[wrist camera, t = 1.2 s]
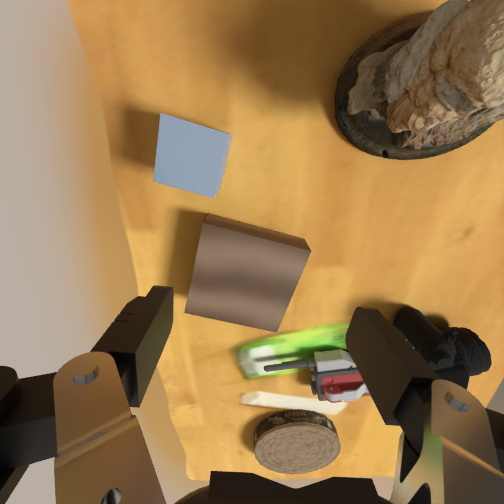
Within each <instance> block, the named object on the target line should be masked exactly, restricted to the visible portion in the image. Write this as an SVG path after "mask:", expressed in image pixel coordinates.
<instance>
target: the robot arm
mask: <svg viewBox="0 0 504 504" xmlns="http://www.w3.org/2000/svg"><path fill="white" fill-rule="evenodd" d="M172 324H173V288H172V287H165V286H155V285H154V286H153V287H152V288H151V290H150V291H149V293H148V294H147V296H146V297H142V296H138V297H136V298H135V299H133V300H132V301H130V302H129V303H127V304H126V306H125V307H124V308H123V310H122V311H121V312H120V314H119V315H118V316H117V317H116V319H115V321H114V322H113V323H112V324H111V325H110V327H109V328H108V329H107V330H106V332H105V333H104V334H103V336H102V337H101V338H100V339H99V341H98V342H97V343H96V345H95V346H94V347H93V349H92V350H91V351H90V352H89V353H85V354H82V355H79V356H77V357H75V358H73V359H71V360H70V361H68V362H67V363H66V364H64V365H63V366H62V367H61V368H60V369H59V370H58V372H54V373H50V374H45V375H39V376H34V377H27V378H22V379H18V376H17V373H16V371H15V370H14V369H13V368H11V367H7V366H0V504H5V503H6V501H7V500H8V498H9V497H10V495H11V493H12V492H13V490H14V489H15V487H16V485H17V484H18V482H19V481H20V479H21V478H22V476H23V474H24V473H25V471H26V470H27V468H28V466H29V465H30V464H32V463H35V462H39V461H42V460H45V459H49V458H52V457H55V460H54V476H55V495H56V504H166V501H165V498H164V496H163V492H162V490H161V487H160V484H159V481H158V478H157V475H156V472H155V469H154V466H153V463H152V460H151V457H150V454H149V451H148V449H147V445H146V442H145V439H144V436H143V433H142V430H141V427H140V425H139V422H138V420H137V417H136V416H135V415H132V413H131V410H130V407H140V404H141V402H142V400H143V397H144V395H145V392H146V390H147V387H148V385H149V383H150V380H151V378H152V375H153V373H154V370H155V368H156V366H157V363H158V361H159V358H160V356H161V354H162V351H163V349H164V346H165V344H166V341H167V339H168V337H169V334H170V332H171V328H172ZM346 347H347V349H348V351H349V353H350V355H351V357H352V359H353V361H354V363H355V365H356V367H357V369H358V371H359V373H360V375H361V377H362V379H363V381H364V383H365V385H366V387H367V389H368V391H369V393H370V395H371V397H372V399H373V401H374V403H375V405H376V407H377V409H378V411H379V412H380V414H381V416H382V418H383V420H384V422H385V424H386V425H396V426H401V428H402V430H403V432H402V434H401V435H400V438H399V446H398V454H397V462H396V470H395V478H394V486H393V491H392V495H391V498H390V500H389V501H388V500H386V499H384V498H382V497H380V496H378V494H377V491H376V489H375V486H374V483H373V480H372V479H369V478H349V477H332V478H329V479H326V480H323V481H320V482H317V483H313V484H310V485H308V486H305V487H301V488H297V489H294V488H290V487H288V486H285V485H283V484H280V483H277V482H275V481H272V480H269V479H267V478H264V477H261V476H259V475H256V474H254V473H244V472H223V471H211V475H210V484H209V486H206V487H202V488H199V489H197V490H195V491H193V492H191V493H189V494H187V495H186V496H185V497H183V498H181V499H180V500H178V501H177V502H176V503H175V504H504V414H501V413H498V412H495V411H493V410H490V409H487V408H484V406H483V405H482V404H481V403H480V401H479V400H478V399H477V398H476V397H475V396H473V395H472V394H471V393H470V392H468V391H467V390H466V389H464V388H462V387H461V386H459V385H457V384H455V383H453V382H450V381H447V380H442V379H441V378H440V377H439V376H438V375H437V374H436V372H435V371H434V370H433V369H432V368H431V367H430V365H429V364H428V363H427V362H426V361H425V359H424V358H423V357H422V356H421V355H420V354H419V352H418V351H417V350H415V348H414V346H413V345H412V344H411V343H410V342H408V339H407V338H406V337H405V336H404V335H403V333H402V332H401V331H400V330H399V329H398V328H396V327H395V326H394V325H392V324H391V323H390V322H388V321H387V320H386V319H385V318H384V317H383V315H382V314H381V313H380V312H379V311H378V310H377V309H375V308H365V307H357V308H356V309H355V311H354V314H353V317H352V320H351V322H350V325H349V328H348V330H347V333H346Z"/></svg>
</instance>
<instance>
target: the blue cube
mask: <svg viewBox="0 0 504 504" xmlns="http://www.w3.org/2000/svg"><path fill="white" fill-rule="evenodd" d="M231 139H232V135H230V134H227V133H224V132H221V131H217V130H214V129H211V128H208V127H205V126H201V125H198V124H195V123H192V122H189V121H185V120H182V119H179V118H176V117H172V116H169V115H166V114H163V113H161V114H160V123H159V132H158V141H157V151H156V160H155V169H154V178H153V182H156V183H160V184H164V185H167V186H171V187H175V188H178V189H182V190H185V191H189V192H193V193H196V194H200V195H204V196H207V197H211V198H215V196H216V195H217V193H218V191H219V190H220V188H221V184H222V180H223V175H224V171H225V166H226V162H227V157H228V153H229V148H230V144H231Z"/></svg>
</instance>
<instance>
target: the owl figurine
mask: <svg viewBox="0 0 504 504" xmlns="http://www.w3.org/2000/svg"><path fill="white" fill-rule="evenodd" d="M335 112H336V119H337V123H338V125H339V127H340V129H341V131H342V132H343V134H344V135H345V136H346V137H347V139H348V140H349V141H350V142H351V143H352V144H353V145H355V146H356V147H357V148H359V149H361V150H363V151H365V152H368V153H370V154H371V155H373V156H374V155H375V156H381V155H382V151H383V150H385V151H386V153H387V155H388V156H384V155H383V158H388V159H398V160H412V159H413V160H414V159H424V158H429V157H434V156H438V155H441V154H444V153H447V152H449V151H452V150H454V149H457V148H459V147H461V146H463V145H465V144H467V143H469V142H470V141H472V140H474V139H475V138H476V137H478V136H480V135H481V134H482V133H483V132H485V131H486V130H487V129H488V128H489V127H491V126H492V125H493V124H494V123H495V122H496V121H499V120H502V119H504V0H470V1H467V0H448V1H447V2H445V3H443V4H442V5H440V6H439V7H438V8H437V9H436V10H434V11H430V12H425V13H420V14H417V15H413V16H410V17H407V18H404V19H402V20H400V21H398V22H395V23H393V24H391V25H389V26H387V27H386V28H384V29H383V30H380V31H379V32H378V33H377V34H375V35H374V36H372V37H371V38H370V39H368V40H367V41H366V42H365V43H364V44H363V45H361V47H360V48H359V49H357V51H355V53H354V54H353V55H352V56H351V57H350V59H349V61H348V62H347V64H346V66H345V68H344V70H343V72H342V73H341V75H340V77H339V79H338V84H337V89H336V95H335Z"/></svg>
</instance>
